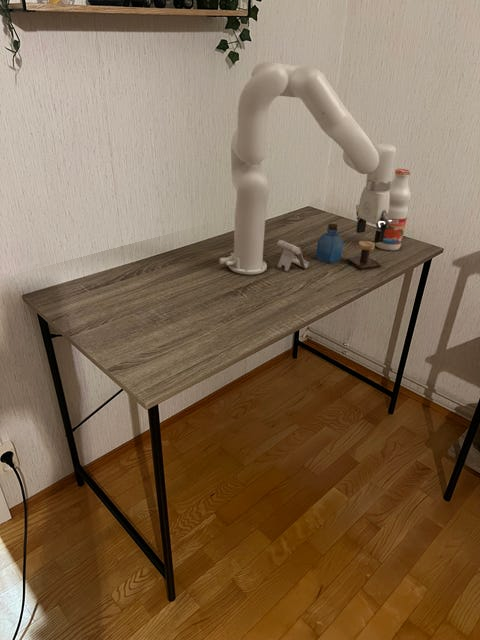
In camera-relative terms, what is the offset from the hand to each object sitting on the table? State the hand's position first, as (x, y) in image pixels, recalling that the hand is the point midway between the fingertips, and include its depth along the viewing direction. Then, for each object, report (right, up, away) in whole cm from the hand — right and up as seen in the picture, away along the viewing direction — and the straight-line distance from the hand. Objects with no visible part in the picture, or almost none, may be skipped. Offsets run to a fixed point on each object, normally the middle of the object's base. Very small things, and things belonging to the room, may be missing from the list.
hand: (369, 237), depth 163 cm
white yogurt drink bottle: (+12, 0, +20) cm, 24 cm away
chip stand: (-1, -8, +5) cm, 10 cm away
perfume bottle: (-12, -6, +8) cm, 16 cm away
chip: (-1, -3, +2) cm, 4 cm away
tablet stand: (-26, -10, 0) cm, 28 cm away
